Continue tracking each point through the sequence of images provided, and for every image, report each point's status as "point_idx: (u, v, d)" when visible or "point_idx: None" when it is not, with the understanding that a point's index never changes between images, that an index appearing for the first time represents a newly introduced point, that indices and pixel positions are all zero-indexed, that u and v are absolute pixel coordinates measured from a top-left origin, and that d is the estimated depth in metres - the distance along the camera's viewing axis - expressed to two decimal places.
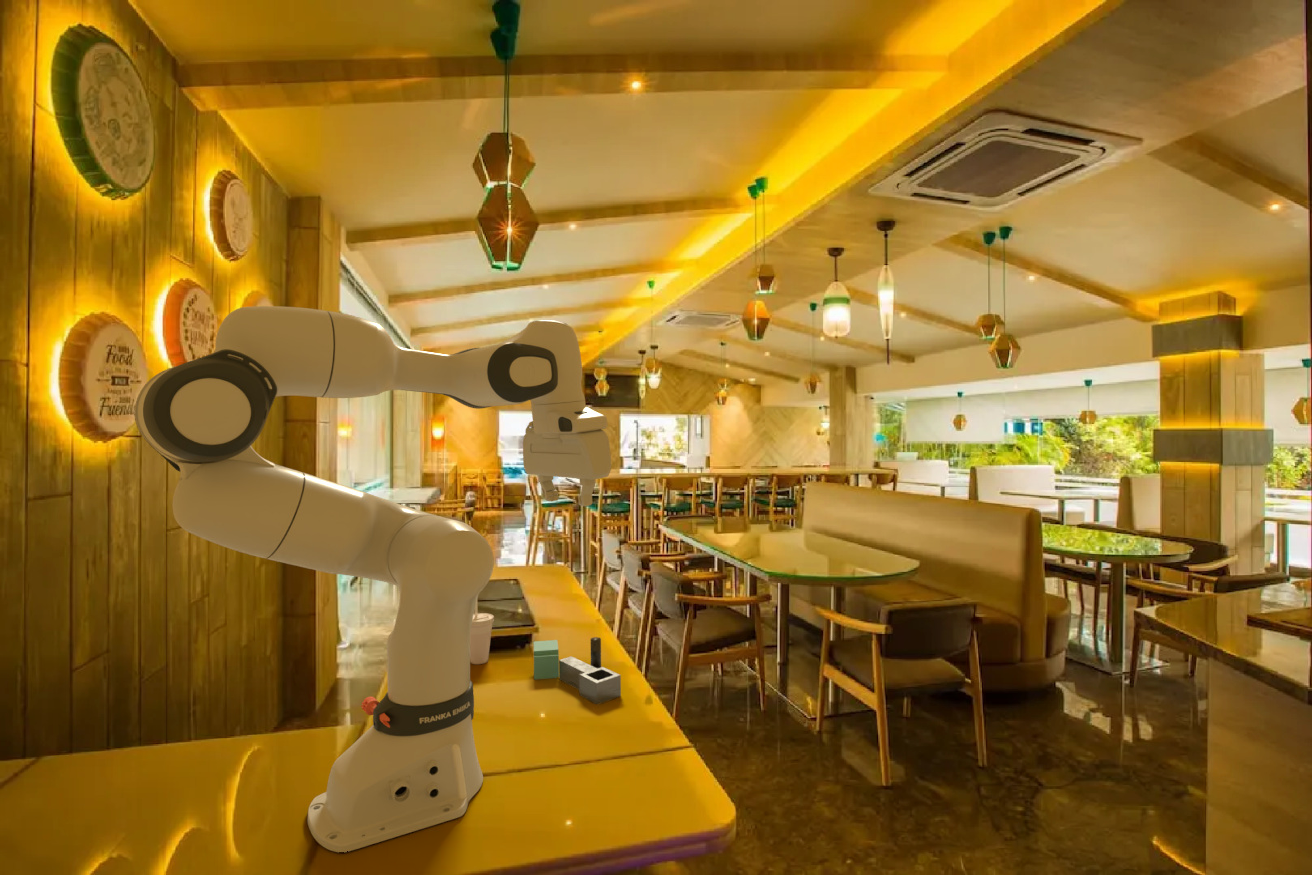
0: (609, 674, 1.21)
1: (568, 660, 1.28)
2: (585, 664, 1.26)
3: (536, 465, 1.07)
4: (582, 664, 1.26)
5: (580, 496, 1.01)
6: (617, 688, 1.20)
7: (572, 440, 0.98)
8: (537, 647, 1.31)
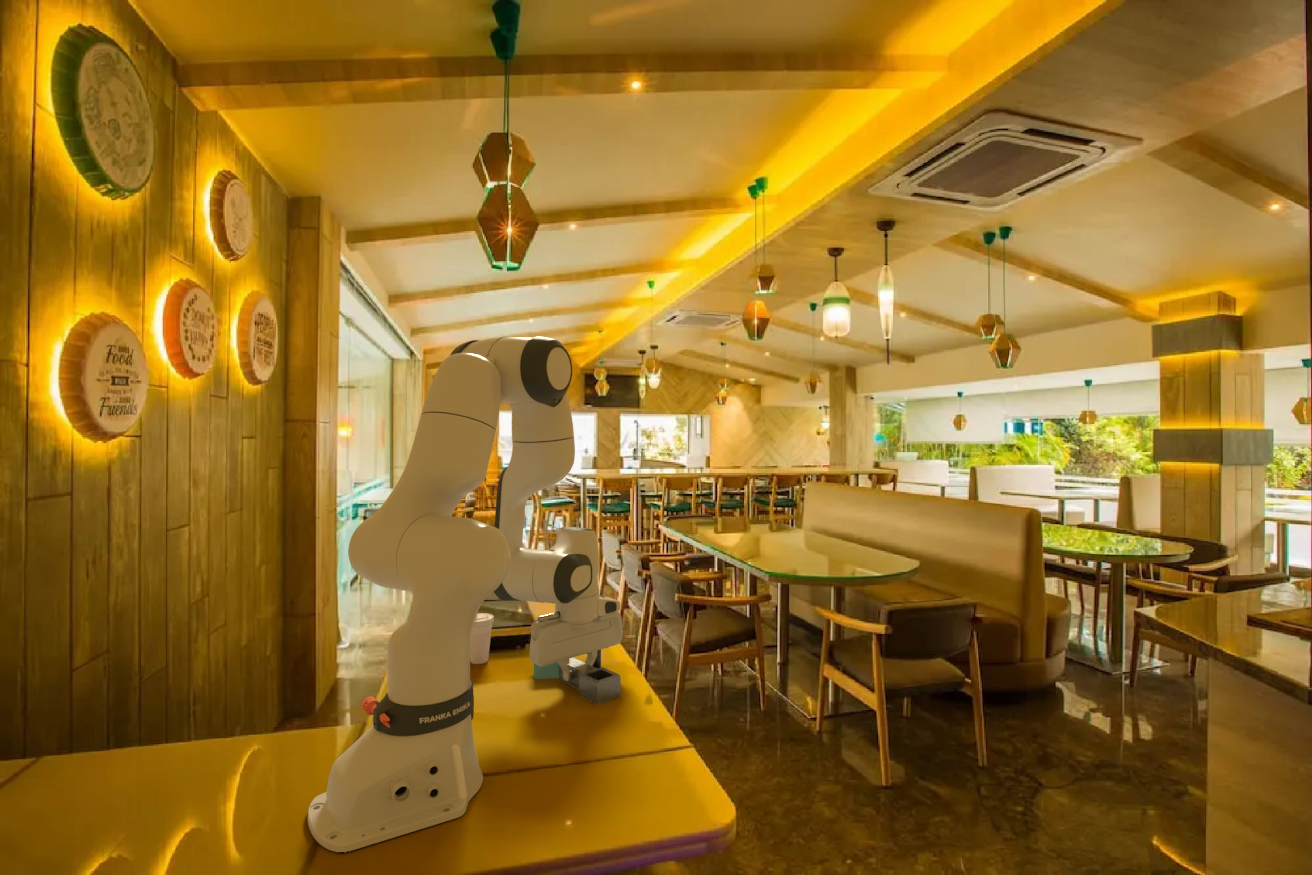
0: (609, 674, 1.21)
1: None
2: (585, 664, 1.26)
3: (558, 653, 1.21)
4: (582, 664, 1.26)
5: None
6: (617, 688, 1.20)
7: (609, 618, 1.28)
8: None
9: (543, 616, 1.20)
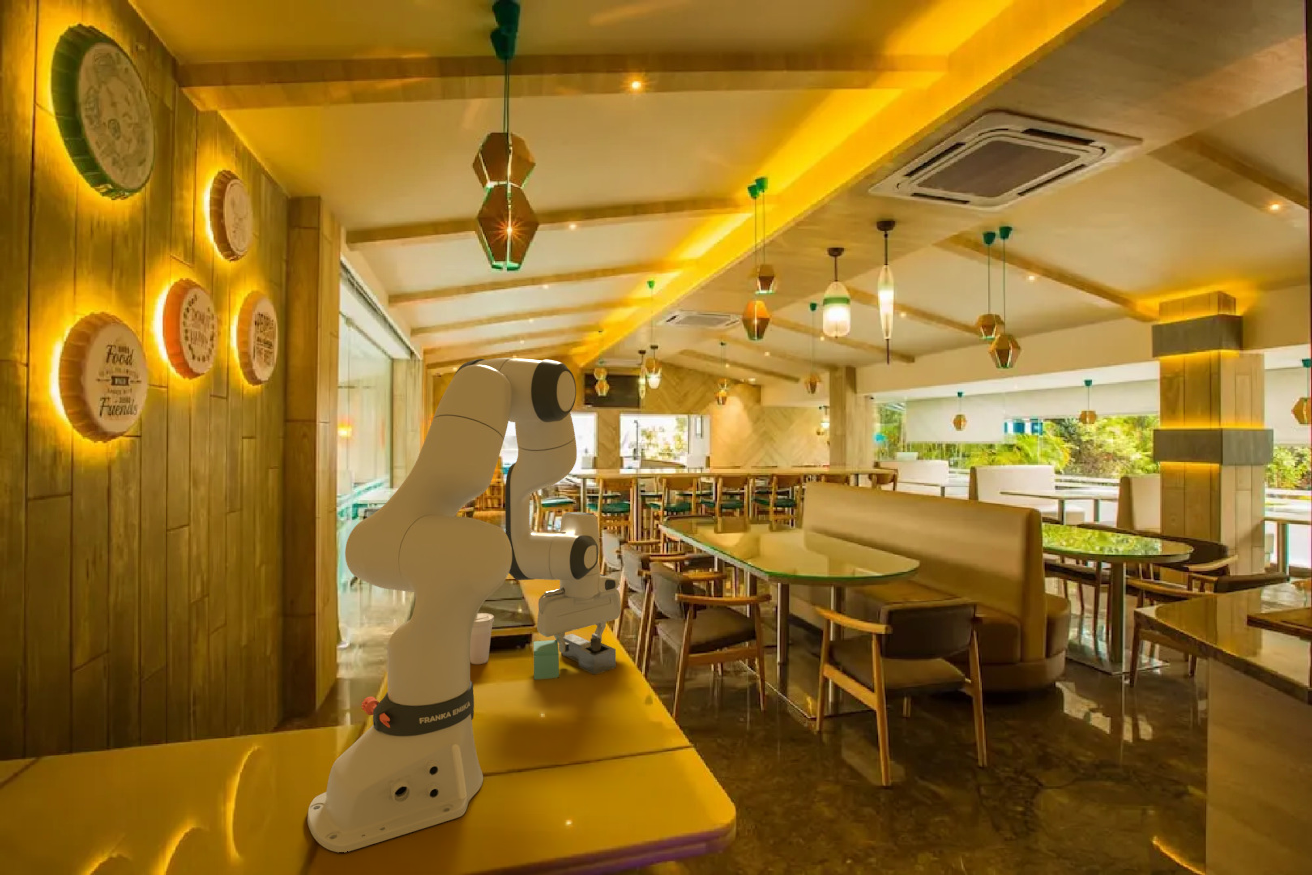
0: (605, 648, 1.35)
1: (569, 637, 1.42)
2: (584, 640, 1.40)
3: (563, 625, 1.34)
4: (581, 640, 1.40)
5: (599, 635, 1.42)
6: (612, 661, 1.34)
7: (609, 594, 1.41)
8: (537, 647, 1.31)
9: (549, 592, 1.34)
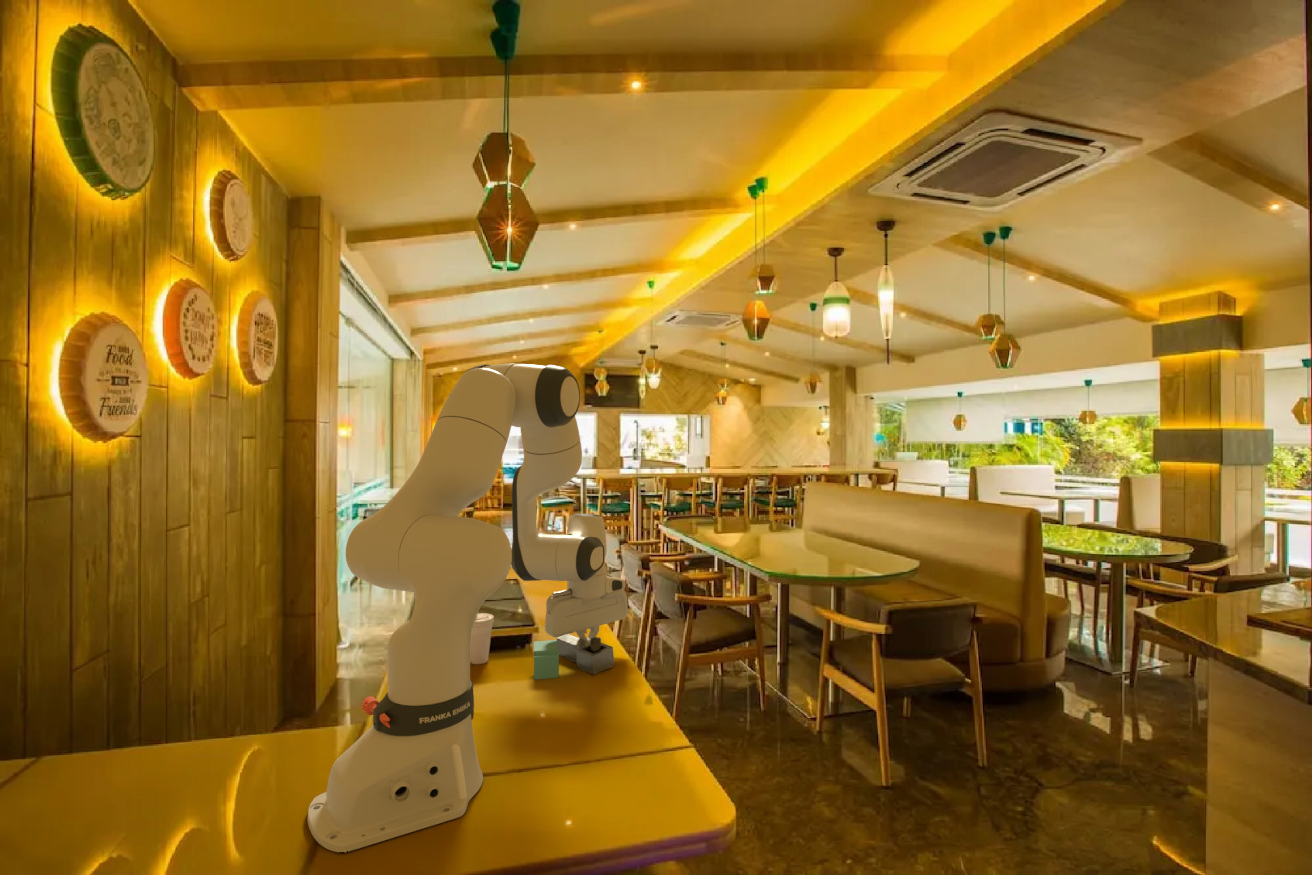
0: (603, 647, 1.35)
1: (565, 637, 1.41)
2: (580, 640, 1.39)
3: (570, 625, 1.35)
4: (578, 640, 1.39)
5: None
6: (611, 659, 1.34)
7: (616, 595, 1.43)
8: (537, 647, 1.31)
9: (557, 593, 1.35)
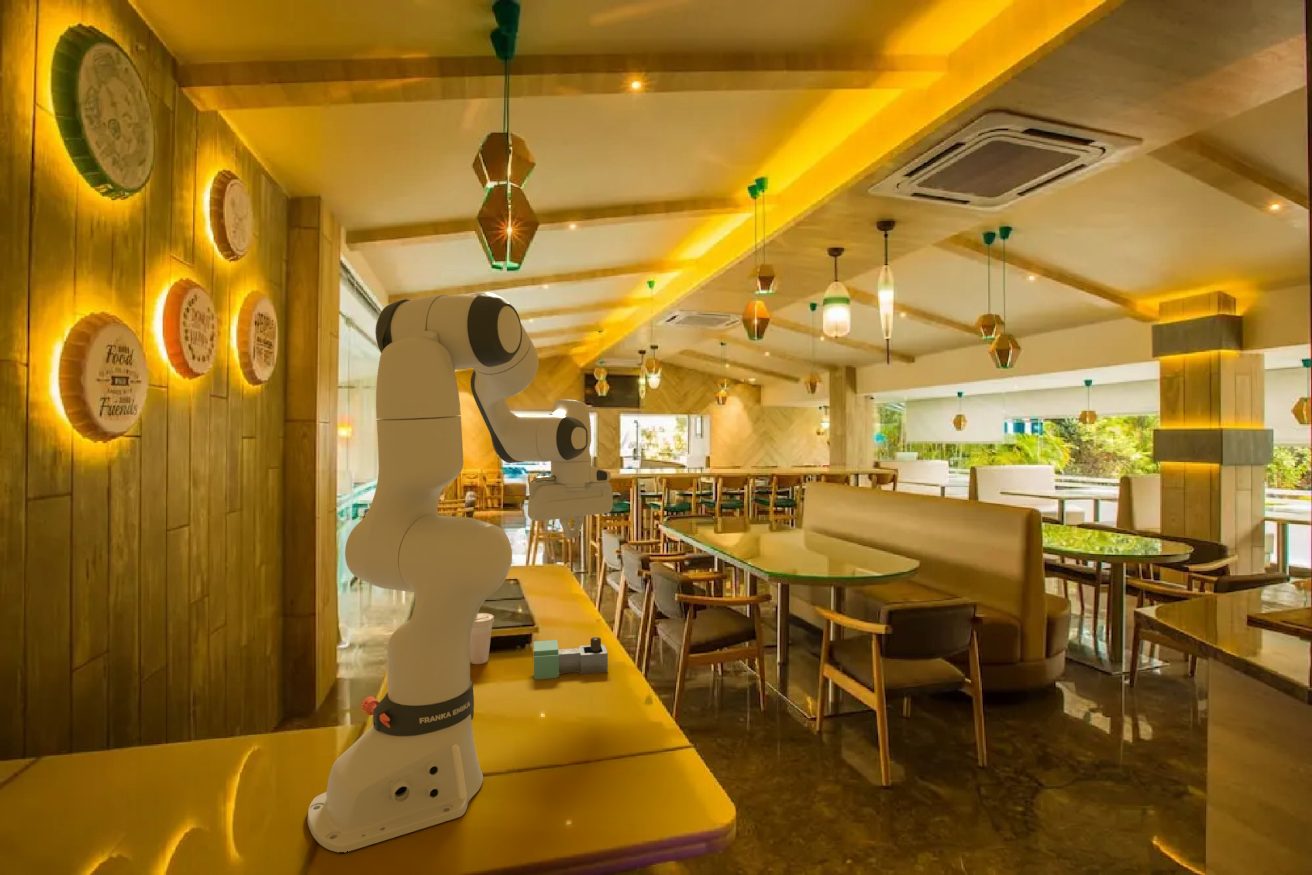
0: None
1: None
2: (563, 649, 1.34)
3: (554, 511, 1.33)
4: (561, 650, 1.33)
5: (577, 530, 1.38)
6: None
7: (601, 486, 1.40)
8: (537, 647, 1.31)
9: (540, 477, 1.33)
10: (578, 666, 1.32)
